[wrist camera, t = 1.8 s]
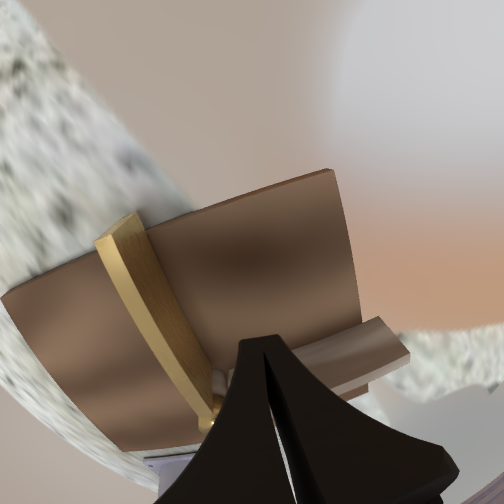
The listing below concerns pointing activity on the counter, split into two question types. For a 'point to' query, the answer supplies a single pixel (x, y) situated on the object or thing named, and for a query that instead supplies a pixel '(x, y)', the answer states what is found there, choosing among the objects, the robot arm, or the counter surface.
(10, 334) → the counter surface
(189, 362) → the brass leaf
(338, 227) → the hinge base
